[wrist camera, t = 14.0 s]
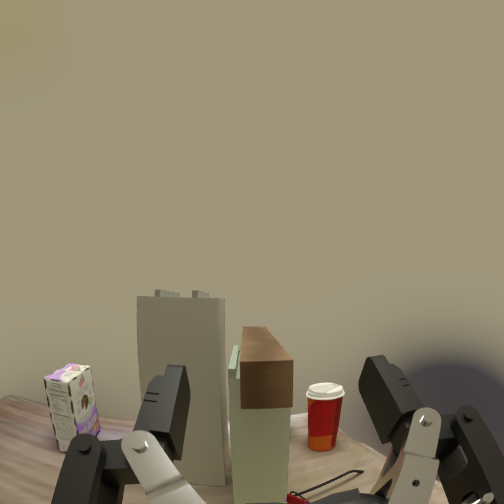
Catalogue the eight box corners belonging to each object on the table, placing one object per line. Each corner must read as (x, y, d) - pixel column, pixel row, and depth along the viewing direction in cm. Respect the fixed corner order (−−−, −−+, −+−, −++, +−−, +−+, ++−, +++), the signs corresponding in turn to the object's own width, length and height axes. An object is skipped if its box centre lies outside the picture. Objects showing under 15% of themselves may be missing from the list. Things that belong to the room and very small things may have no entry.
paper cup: (324, 434, 50) (328, 379, 52) (347, 445, 43) (353, 386, 45) (295, 444, 47) (297, 387, 49) (317, 458, 40) (321, 396, 42)
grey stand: (154, 478, 31) (136, 289, 37) (170, 448, 43) (160, 292, 49) (225, 486, 32) (218, 290, 37) (228, 453, 43) (224, 293, 49)
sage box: (236, 533, 20) (228, 368, 24) (238, 477, 35) (234, 345, 39) (283, 531, 20) (291, 367, 24) (273, 476, 35) (274, 344, 39)
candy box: (79, 426, 44) (69, 362, 46) (101, 430, 45) (92, 365, 48) (58, 451, 30) (41, 375, 33) (84, 457, 32) (68, 381, 35)
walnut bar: (240, 409, 16) (239, 361, 17) (243, 348, 42) (243, 326, 42) (292, 407, 16) (293, 359, 17) (265, 347, 42) (265, 326, 43)
